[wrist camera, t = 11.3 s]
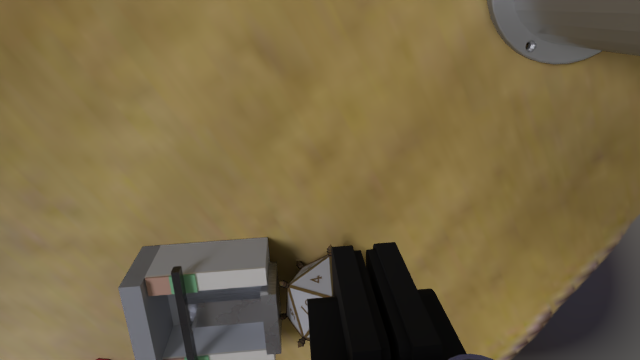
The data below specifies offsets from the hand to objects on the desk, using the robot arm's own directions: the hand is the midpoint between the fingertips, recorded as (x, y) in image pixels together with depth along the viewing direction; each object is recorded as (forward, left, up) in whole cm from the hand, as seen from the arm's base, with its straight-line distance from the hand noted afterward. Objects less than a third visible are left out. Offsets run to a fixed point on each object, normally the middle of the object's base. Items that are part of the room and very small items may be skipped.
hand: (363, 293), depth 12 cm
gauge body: (+10, +17, -27) cm, 34 cm away
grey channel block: (+8, +17, -26) cm, 32 cm away
